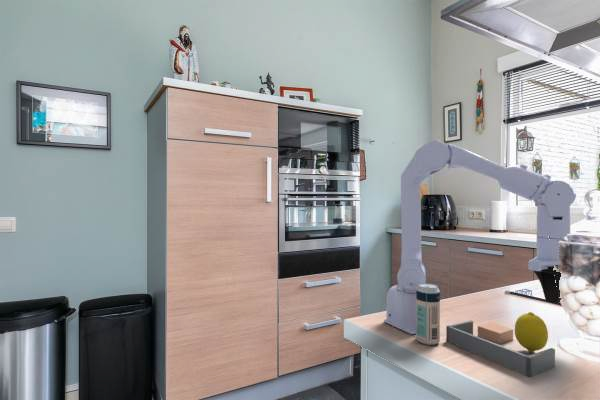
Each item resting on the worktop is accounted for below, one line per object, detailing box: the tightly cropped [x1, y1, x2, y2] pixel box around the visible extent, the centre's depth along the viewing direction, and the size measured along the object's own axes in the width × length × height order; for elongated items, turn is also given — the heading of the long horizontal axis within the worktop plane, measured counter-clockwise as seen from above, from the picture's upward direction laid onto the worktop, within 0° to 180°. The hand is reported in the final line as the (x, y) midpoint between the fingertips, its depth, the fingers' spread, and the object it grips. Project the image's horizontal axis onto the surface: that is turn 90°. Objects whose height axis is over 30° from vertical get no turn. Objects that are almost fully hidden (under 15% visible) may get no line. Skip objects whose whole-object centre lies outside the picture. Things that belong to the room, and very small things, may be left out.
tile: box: [477, 321, 514, 345], centre depth 76 cm, size 5×5×2 cm
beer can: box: [415, 283, 441, 346], centre depth 73 cm, size 5×5×12 cm
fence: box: [445, 320, 556, 378], centre depth 68 cm, size 17×8×3 cm, turn 28°
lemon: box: [514, 311, 549, 354], centre depth 69 cm, size 6×6×8 cm
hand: (552, 302), depth 72 cm, fingers closed
